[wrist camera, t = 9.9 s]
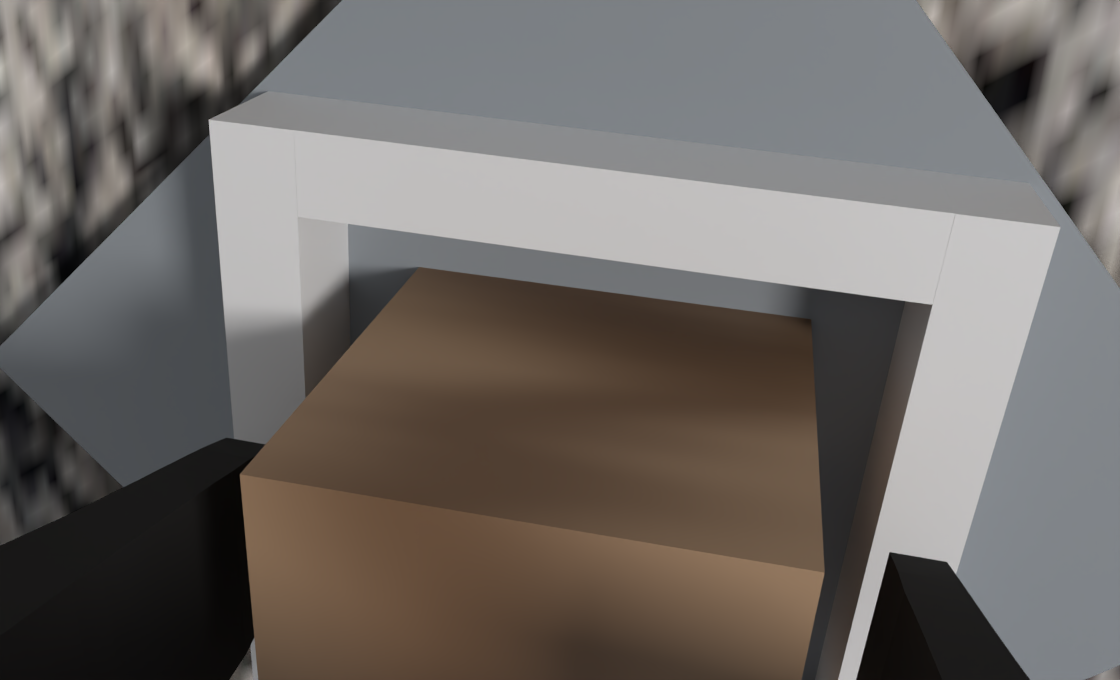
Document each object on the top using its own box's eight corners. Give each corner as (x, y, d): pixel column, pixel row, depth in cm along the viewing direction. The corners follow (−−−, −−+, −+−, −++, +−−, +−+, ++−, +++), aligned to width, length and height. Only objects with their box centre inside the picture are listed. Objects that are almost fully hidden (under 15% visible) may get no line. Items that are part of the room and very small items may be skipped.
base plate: (1304, 550, 13) (1388, 664, 12) (557, 870, 19) (532, 983, 17) (682, -330, 11) (660, -366, 9) (14, 340, 16) (-86, 405, 14)
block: (811, 318, 13) (824, 571, 8) (752, 633, 15) (739, 967, 11) (419, 266, 13) (239, 474, 9) (418, 574, 16) (274, 862, 11)
